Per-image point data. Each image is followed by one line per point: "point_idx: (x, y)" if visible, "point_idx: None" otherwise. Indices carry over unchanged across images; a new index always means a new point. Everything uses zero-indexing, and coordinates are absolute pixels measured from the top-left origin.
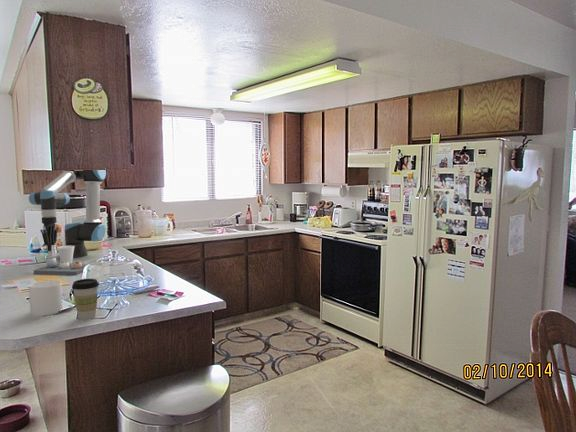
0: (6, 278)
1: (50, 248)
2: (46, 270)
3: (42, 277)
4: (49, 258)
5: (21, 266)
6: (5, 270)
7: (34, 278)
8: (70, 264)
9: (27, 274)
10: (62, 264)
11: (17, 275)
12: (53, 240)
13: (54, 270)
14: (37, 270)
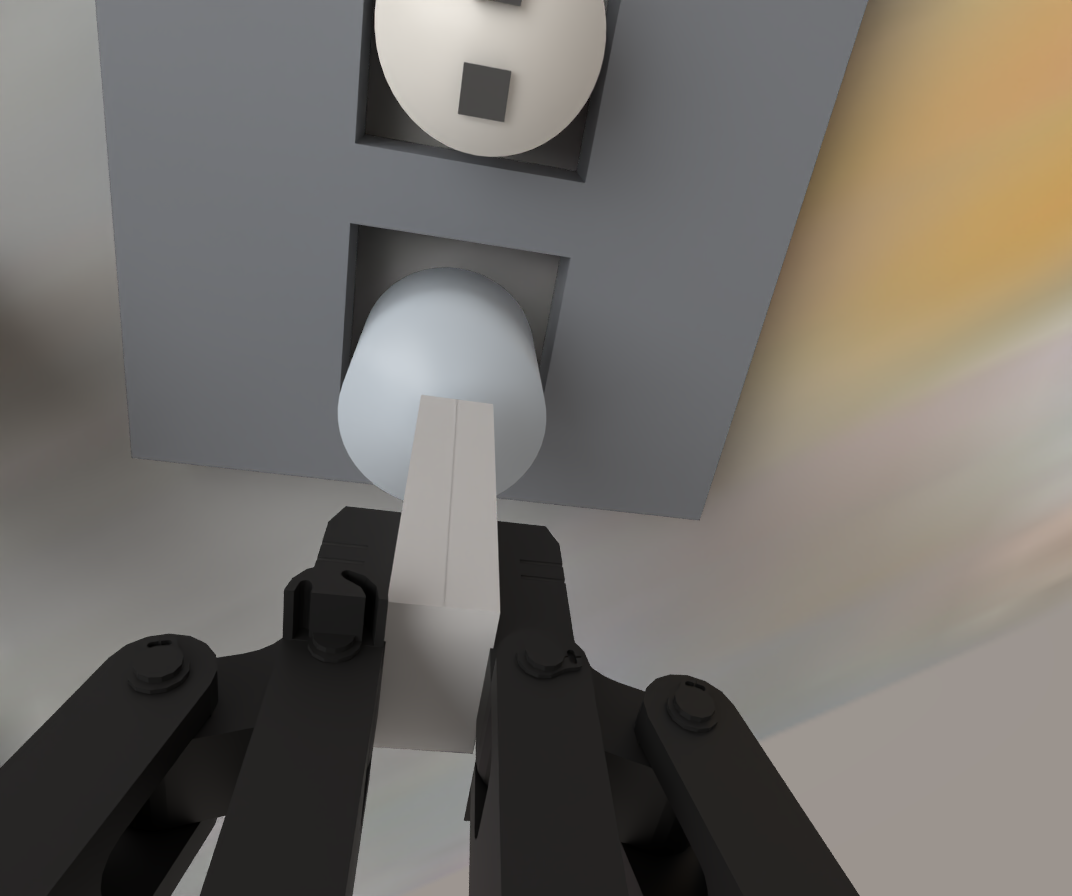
0: (884, 672)
1: (522, 574)
2: (743, 306)
3: (983, 230)
4: (405, 482)
5: (217, 832)
6: (447, 868)
7: (1012, 329)
8: (163, 30)
9: (706, 552)
10: (601, 38)
11: (743, 638)
12: (309, 788)
13: (779, 136)
14: (713, 460)
